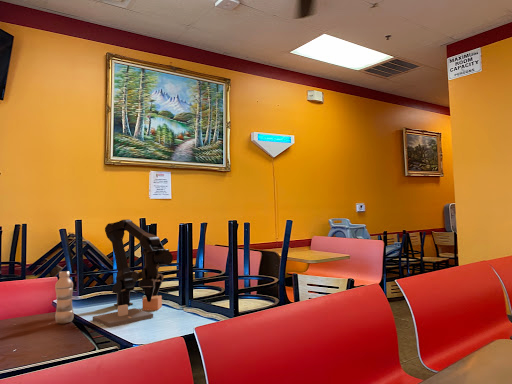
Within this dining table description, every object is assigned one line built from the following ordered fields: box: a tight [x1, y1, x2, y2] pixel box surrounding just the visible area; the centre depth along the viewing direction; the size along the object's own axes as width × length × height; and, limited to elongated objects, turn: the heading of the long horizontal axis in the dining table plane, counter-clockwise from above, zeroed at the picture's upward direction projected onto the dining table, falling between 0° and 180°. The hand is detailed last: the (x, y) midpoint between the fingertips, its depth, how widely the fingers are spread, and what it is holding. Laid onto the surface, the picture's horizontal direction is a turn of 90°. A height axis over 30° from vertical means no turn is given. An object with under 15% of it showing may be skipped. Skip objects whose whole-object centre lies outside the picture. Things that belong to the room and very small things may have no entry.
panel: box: [92, 305, 154, 328], centre depth 156 cm, size 16×18×5 cm
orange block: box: [141, 295, 163, 311], centre depth 173 cm, size 6×7×5 cm
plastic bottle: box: [54, 270, 75, 324], centre depth 153 cm, size 6×7×20 cm
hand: (152, 299), depth 173 cm, fingers open, 9 cm apart
